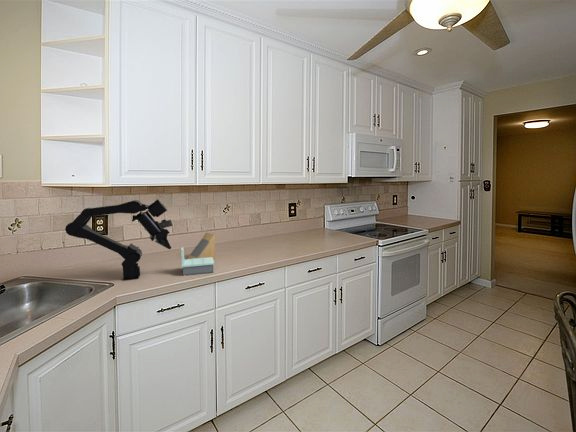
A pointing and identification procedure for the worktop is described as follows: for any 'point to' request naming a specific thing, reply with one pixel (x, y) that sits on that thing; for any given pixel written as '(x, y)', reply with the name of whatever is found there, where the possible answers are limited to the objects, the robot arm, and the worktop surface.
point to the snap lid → (195, 261)
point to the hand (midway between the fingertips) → (170, 248)
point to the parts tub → (197, 270)
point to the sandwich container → (204, 247)
